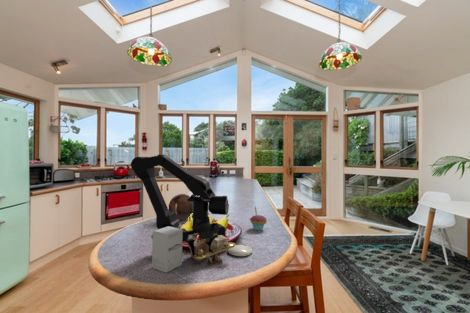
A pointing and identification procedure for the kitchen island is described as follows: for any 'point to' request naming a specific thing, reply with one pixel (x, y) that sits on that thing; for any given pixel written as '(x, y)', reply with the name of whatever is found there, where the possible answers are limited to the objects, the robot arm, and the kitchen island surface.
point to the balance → (213, 253)
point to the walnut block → (202, 246)
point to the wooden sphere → (181, 206)
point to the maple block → (218, 243)
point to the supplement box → (167, 248)
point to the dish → (240, 250)
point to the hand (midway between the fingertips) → (199, 254)
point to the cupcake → (258, 221)
